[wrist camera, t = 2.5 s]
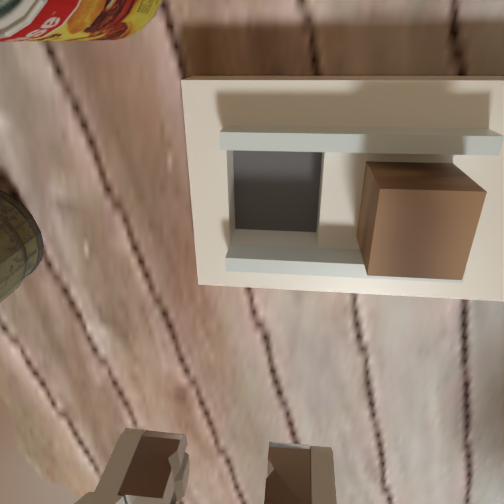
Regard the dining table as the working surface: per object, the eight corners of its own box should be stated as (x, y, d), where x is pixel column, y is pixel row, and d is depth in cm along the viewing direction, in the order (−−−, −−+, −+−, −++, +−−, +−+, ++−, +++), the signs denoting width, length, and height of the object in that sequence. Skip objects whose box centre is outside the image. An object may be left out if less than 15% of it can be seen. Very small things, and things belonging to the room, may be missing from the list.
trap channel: (616, 75, 23) (689, 84, 19) (536, 280, 30) (577, 322, 25) (193, 75, 26) (171, 83, 21) (206, 264, 32) (191, 299, 28)
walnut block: (452, 163, 24) (486, 191, 19) (435, 239, 26) (462, 280, 22) (366, 161, 24) (380, 188, 20) (356, 235, 26) (367, 275, 22)
